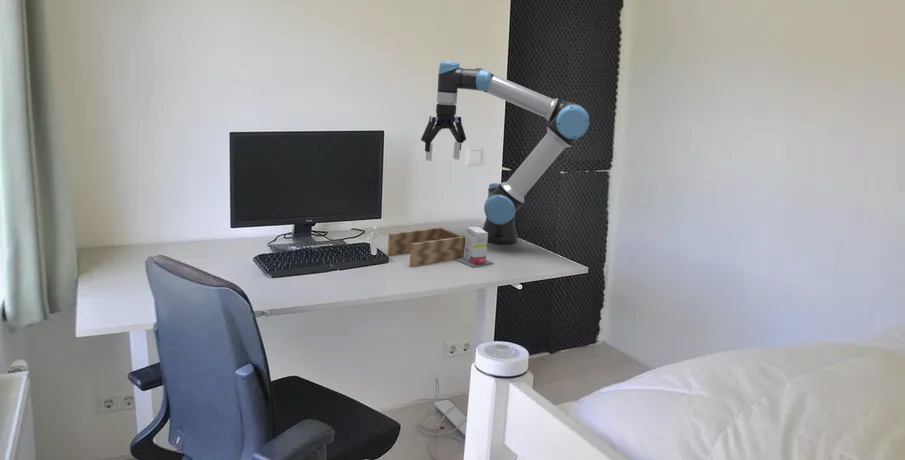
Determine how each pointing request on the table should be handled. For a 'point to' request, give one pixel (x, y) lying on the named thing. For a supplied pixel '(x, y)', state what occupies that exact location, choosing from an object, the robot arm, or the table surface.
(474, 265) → the mat
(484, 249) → the ink box
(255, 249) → the table surface
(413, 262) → the wooden frame
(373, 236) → the figurine
